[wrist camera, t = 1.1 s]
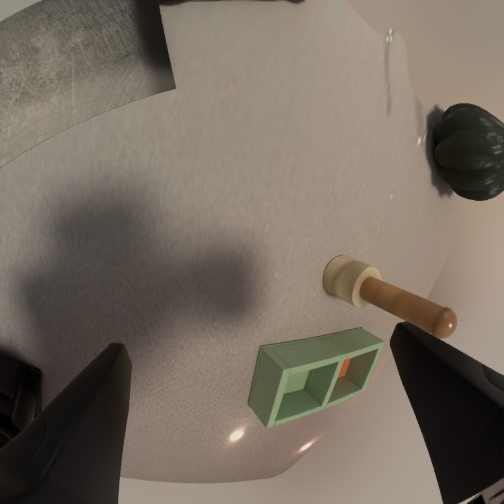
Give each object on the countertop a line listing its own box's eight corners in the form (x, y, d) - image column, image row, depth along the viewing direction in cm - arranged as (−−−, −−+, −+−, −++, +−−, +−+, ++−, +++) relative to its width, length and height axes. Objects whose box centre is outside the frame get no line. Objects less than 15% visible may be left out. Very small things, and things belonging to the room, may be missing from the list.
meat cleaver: (-46, 207, 9) (-74, 214, 6) (-60, 84, 5) (-82, 72, 2) (328, 68, 21) (359, 57, 17) (292, -20, 16) (316, -37, 13)
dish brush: (340, 297, 27) (448, 354, 16) (316, 287, 25) (436, 352, 14) (356, 262, 27) (469, 307, 16) (334, 249, 25) (461, 297, 14)
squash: (467, 234, 31) (536, 196, 22) (441, 157, 24) (525, 111, 15) (437, 178, 40) (496, 147, 31) (404, 112, 33) (472, 76, 24)
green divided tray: (247, 403, 26) (266, 428, 22) (260, 345, 24) (283, 369, 21) (343, 376, 32) (363, 391, 29) (361, 327, 31) (384, 341, 27)
